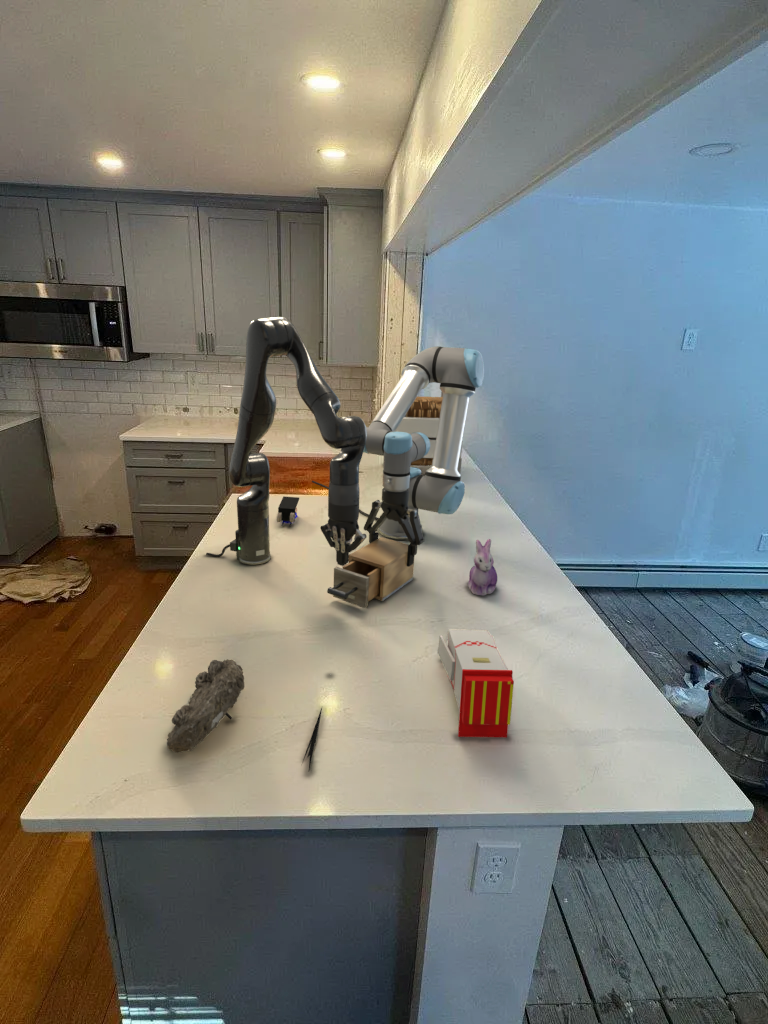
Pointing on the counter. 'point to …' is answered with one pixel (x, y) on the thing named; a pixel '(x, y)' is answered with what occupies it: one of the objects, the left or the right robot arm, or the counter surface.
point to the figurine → (483, 571)
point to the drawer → (356, 583)
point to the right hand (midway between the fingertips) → (391, 559)
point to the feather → (313, 740)
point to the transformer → (424, 425)
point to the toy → (478, 682)
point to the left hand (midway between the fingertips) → (342, 564)
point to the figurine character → (287, 510)
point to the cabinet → (387, 564)
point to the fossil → (206, 705)
